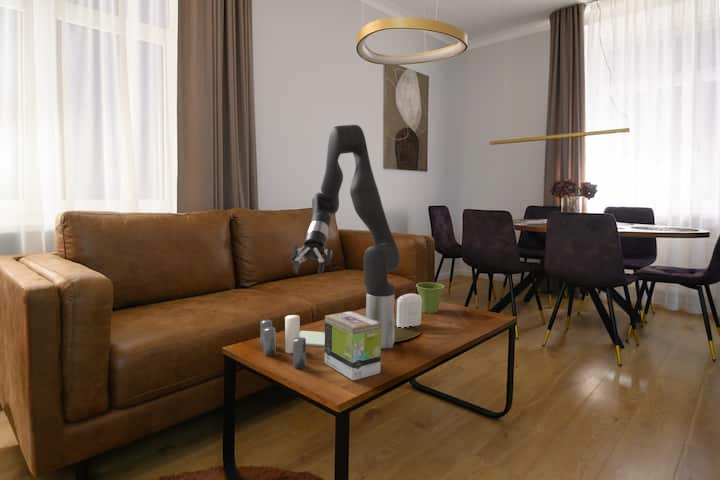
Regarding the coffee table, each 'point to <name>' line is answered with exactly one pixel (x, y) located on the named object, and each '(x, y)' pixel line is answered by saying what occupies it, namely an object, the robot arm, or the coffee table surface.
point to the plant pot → (430, 296)
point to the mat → (313, 338)
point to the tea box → (353, 344)
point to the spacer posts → (270, 344)
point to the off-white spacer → (291, 331)
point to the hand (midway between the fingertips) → (307, 272)
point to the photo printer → (409, 310)
